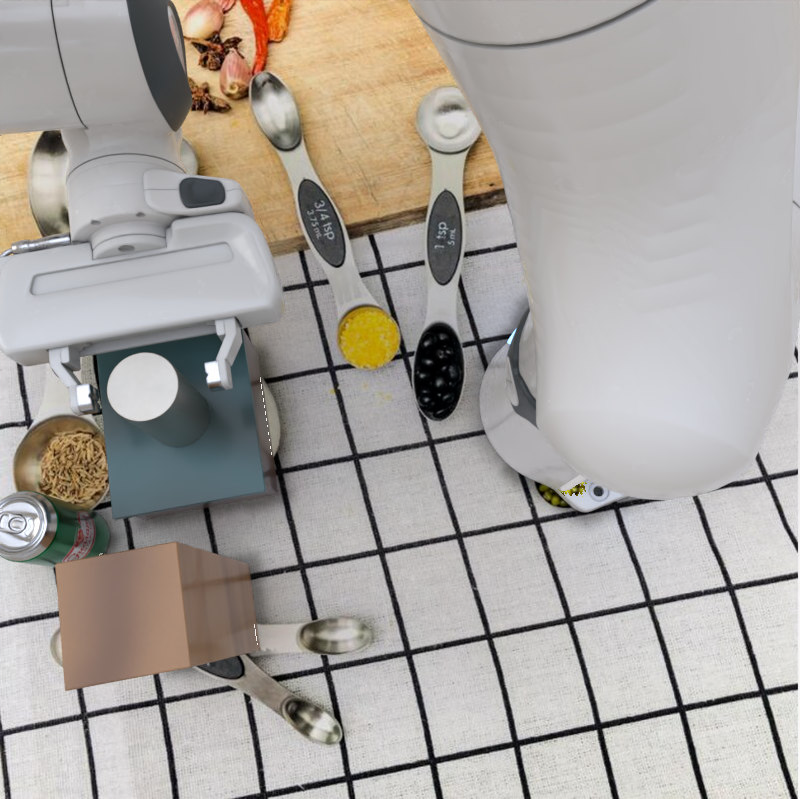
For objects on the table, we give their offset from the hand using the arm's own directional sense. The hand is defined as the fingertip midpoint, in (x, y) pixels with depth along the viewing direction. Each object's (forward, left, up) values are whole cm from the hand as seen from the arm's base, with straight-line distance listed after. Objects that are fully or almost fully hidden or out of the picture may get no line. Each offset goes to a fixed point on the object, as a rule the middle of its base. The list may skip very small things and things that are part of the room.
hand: (153, 400), depth 58 cm
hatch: (0, 0, -7) cm, 7 cm away
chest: (0, 0, -14) cm, 14 cm away
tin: (0, 0, -6) cm, 6 cm away
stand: (+1, +14, -14) cm, 20 cm away
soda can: (+11, +6, -14) cm, 19 cm away
